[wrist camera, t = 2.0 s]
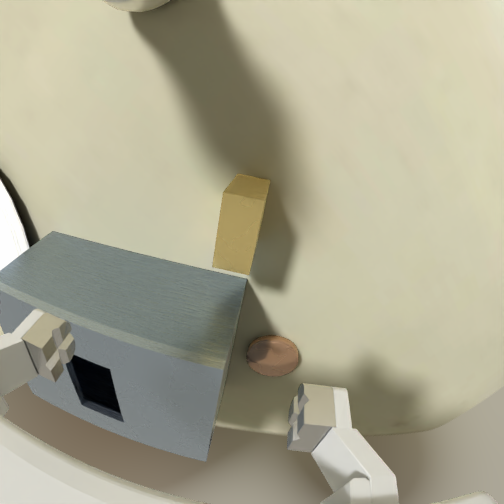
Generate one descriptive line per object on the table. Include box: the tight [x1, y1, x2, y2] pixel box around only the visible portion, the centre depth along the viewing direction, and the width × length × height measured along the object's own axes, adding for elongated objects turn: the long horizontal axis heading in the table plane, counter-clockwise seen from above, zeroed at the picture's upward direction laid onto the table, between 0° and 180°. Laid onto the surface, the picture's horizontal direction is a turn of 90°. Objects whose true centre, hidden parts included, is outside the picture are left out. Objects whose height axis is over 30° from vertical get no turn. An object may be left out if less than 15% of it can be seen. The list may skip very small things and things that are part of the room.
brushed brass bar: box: [212, 174, 271, 275], centre depth 21 cm, size 2×5×5 cm, turn 170°
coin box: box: [0, 231, 247, 462], centre depth 25 cm, size 20×15×10 cm
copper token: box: [247, 335, 298, 376], centre depth 29 cm, size 5×5×1 cm
